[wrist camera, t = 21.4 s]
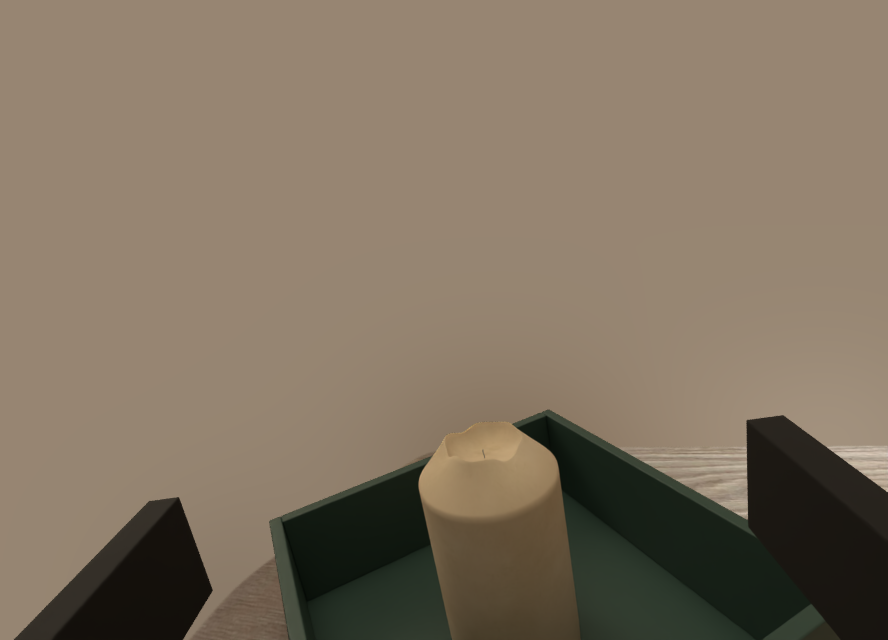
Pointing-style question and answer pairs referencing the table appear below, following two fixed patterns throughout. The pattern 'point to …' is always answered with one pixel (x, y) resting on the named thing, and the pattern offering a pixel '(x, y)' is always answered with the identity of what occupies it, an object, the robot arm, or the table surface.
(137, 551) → the robot arm
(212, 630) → the table surface
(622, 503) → the bin
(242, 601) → the table surface
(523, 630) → the candle
